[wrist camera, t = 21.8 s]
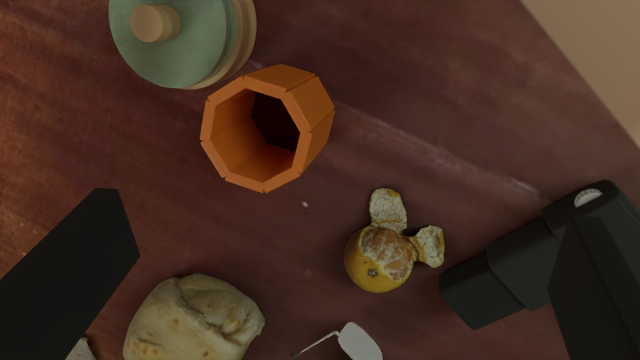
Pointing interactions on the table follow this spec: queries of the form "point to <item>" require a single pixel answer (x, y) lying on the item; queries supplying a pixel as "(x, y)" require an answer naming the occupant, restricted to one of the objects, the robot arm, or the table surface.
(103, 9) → the table surface
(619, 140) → the table surface
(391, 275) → the fruit
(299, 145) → the orange octagonal tube
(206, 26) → the stacking base
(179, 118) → the table surface
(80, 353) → the stone fragment
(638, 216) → the handheld device
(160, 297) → the pastry
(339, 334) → the eyeglasses
